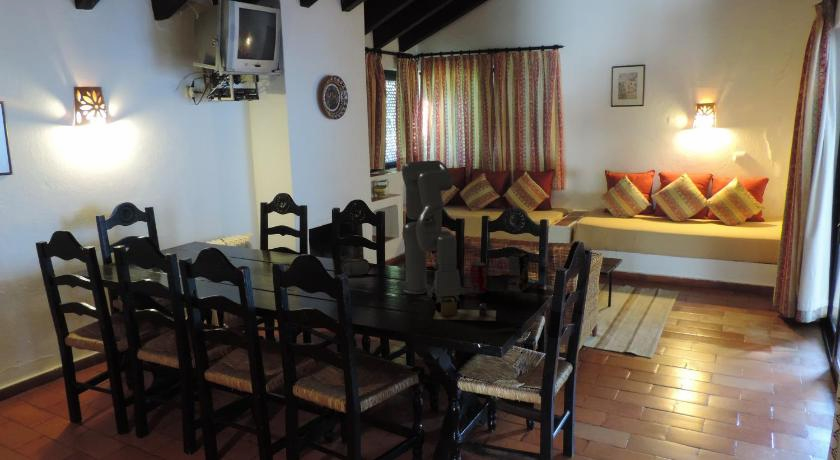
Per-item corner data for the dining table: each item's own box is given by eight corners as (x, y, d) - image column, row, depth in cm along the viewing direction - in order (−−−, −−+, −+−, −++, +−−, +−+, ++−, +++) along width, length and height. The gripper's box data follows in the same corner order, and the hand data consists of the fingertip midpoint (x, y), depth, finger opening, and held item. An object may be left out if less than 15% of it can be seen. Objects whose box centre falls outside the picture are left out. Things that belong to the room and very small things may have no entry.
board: (433, 321, 233) (432, 305, 231) (436, 311, 244) (436, 295, 243) (495, 323, 229) (495, 306, 228) (495, 313, 241) (496, 297, 240)
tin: (369, 273, 305) (369, 257, 304) (371, 275, 302) (370, 258, 301) (340, 276, 301) (339, 259, 300) (341, 277, 298) (340, 261, 297)
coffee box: (521, 292, 268) (521, 257, 265) (507, 290, 272) (508, 255, 269) (528, 287, 276) (529, 253, 273) (515, 285, 279) (516, 251, 276)
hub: (479, 316, 235) (479, 305, 234) (479, 313, 237) (479, 302, 236) (486, 316, 234) (486, 305, 233) (486, 314, 237) (486, 303, 236)
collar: (441, 316, 234) (441, 303, 233) (437, 310, 240) (437, 298, 239) (457, 314, 235) (457, 302, 234) (452, 309, 241) (452, 297, 240)
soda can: (485, 294, 266) (485, 266, 264) (469, 293, 268) (469, 265, 265) (487, 290, 273) (487, 262, 271) (471, 289, 275) (471, 261, 272)
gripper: (427, 271, 229) (427, 316, 232) (471, 267, 232) (470, 312, 236) (422, 266, 236) (423, 309, 239) (465, 263, 239) (465, 306, 243)
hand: (446, 310), depth 238 cm, fingers closed on collar, 6 cm apart
